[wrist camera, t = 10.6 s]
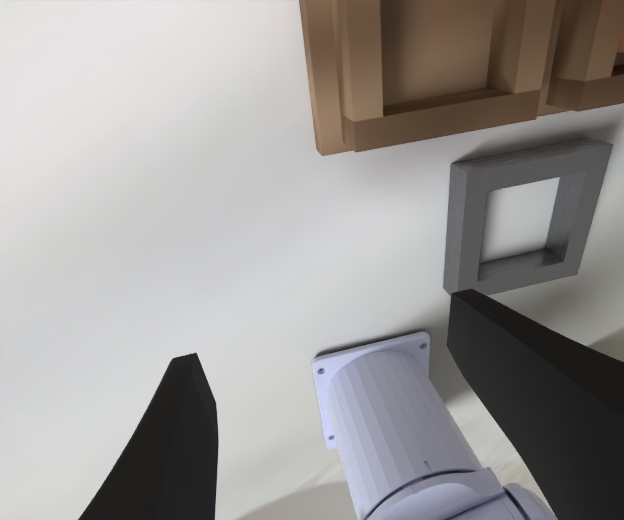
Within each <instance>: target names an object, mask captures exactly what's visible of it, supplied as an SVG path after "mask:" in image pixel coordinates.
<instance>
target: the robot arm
mask: <svg viewBox="0 0 624 520" xmlns="http://www.w3.org/2000/svg"><path fill="white" fill-rule="evenodd" d="M423 343H424V344H423ZM421 344H423V345H421ZM447 347H448V349H449V351H450V352H451V354H452V356H453V358H454V360H455V362H456V364H457V366H458V367H459V369H460V371H461V373H462V374H463V376H464V378H465V379H466V381H467V382H468V384H469V385H470V386H471V388H472V389H473V391H474V392H475V393H476V395H477V396H478V398H479V399H480V400H481V402H482V403H483V405H484V406H485V407H486V409H487V410H488V411H489V413H490V414H491V416H492V417H493V418H494V420H495V421H496V422H497V424H498V425H499V427H500V428H501V429H502V431H503V432H504V433H505V435H506V436H507V438H508V439H509V440H510V442H511V443H512V444H513V446H514V447H515V449H516V450H517V452H518V453H519V455H520V456H521V458H522V459H523V461H524V462H525V464H526V466H527V467H528V469H529V471H530V472H531V474H532V476H533V478H534V479H535V481H536V483H537V484H538V486H539V487H540V489H541V491H542V493H543V494H544V496H545V498H546V500H547V501H548V503H549V505H550V507H551V508H552V510H553V512H554V514H555V515H554V514H553V513H552V512H551V510H550V509H549V508H548V507H547V505H546V504H545V503H544V502H543V501H542V500H541V499H540V498H539V497H538V496H537V495H536V494H535V493H534V492H532V491H530V490H527V489H525V488H523V487H521V486H520V485H519V484H517V483H509V484H507V485H505V486H503V487H502V486H501V484H500V483H499V481H498V480H497V478H496V476H495V475H494V473H493V471H492V470H491V468H489V467H487V468H483V467H482V465H481V463H480V462H479V460H478V458H477V457H476V455H475V453H474V452H473V450H472V449H471V447H470V445H469V444H468V442H467V440H466V439H465V437H464V435H463V434H462V432H461V430H460V429H459V427H458V425H457V424H456V422H455V420H454V419H453V417H452V416H451V414H450V412H449V411H448V409H447V407H446V406H445V404H444V402H443V401H442V399H441V397H440V396H439V394H438V392H437V391H436V389H435V387H434V386H433V384H432V383H431V381H430V379H429V358H430V336H429V334H428V333H427V332H418V333H414V334H410V335H405V336H401V337H397V338H393V339H389V340H385V341H380V342H376V343H372V344H368V345H364V346H360V347H355V348H351V349H347V350H343V351H339V352H335V353H330V354H326V355H322V356H318V357H316V358H314V359H313V361H312V368H313V373H314V379H315V385H316V391H317V396H318V402H319V408H320V414H321V420H322V425H323V431H324V437H325V443H326V447H327V448H328V449H330V450H333V449H337V448H338V451H339V454H340V458H341V461H342V465H343V468H344V472H345V475H346V479H347V483H348V486H349V490H350V493H351V497H352V500H353V504H354V507H355V511H356V514H357V518H358V520H624V362H621V361H619V360H616V359H614V358H611V357H609V356H607V355H604V354H602V353H600V352H597V351H595V350H593V349H591V348H589V347H586V346H584V345H582V344H580V343H578V342H575V341H573V340H571V339H569V338H567V337H565V336H563V335H561V334H559V333H557V332H555V331H552V330H550V329H549V328H547V327H545V326H543V325H541V324H539V323H537V322H535V321H533V320H531V319H529V318H527V317H525V316H523V315H521V314H520V313H518V312H516V311H514V310H512V309H510V308H508V307H506V306H505V305H503V304H501V303H499V302H497V301H495V300H493V299H491V298H490V297H488V296H486V295H484V294H482V293H480V292H478V291H476V290H474V289H472V288H471V289H467V290H462V291H458V292H454V293H451V304H450V316H449V327H448V338H447ZM321 368H323V369H321ZM319 369H321V370H319ZM217 463H218V423H217V409H216V402H215V399H214V397H213V394H212V391H211V389H210V386H209V384H208V381H207V379H206V376H205V373H204V371H203V368H202V366H201V363H200V361H199V358H198V355H197V353H193V354H189V355H185V356H180V357H176V358H173V359H172V361H171V362H170V364H169V366H168V368H167V370H166V372H165V374H164V376H163V378H162V380H161V382H160V384H159V386H158V388H157V390H156V392H155V394H154V396H153V398H152V400H151V402H150V404H149V406H148V408H147V410H146V412H145V413H144V415H143V417H142V419H141V421H140V423H139V424H138V426H137V428H136V430H135V432H134V433H133V435H132V437H131V439H130V440H129V442H128V444H127V445H126V447H125V449H124V450H123V452H122V454H121V455H120V457H119V459H118V460H117V462H116V464H115V465H114V467H113V469H112V470H111V472H110V473H109V475H108V477H107V478H106V480H105V481H104V483H103V484H102V486H101V487H100V489H99V490H98V492H97V493H96V495H95V496H94V498H93V499H92V501H91V502H90V504H89V505H88V506H87V508H86V509H85V511H84V512H83V514H82V515H81V516H80V518H79V519H78V520H215V503H216V483H217ZM555 516H556V517H557V518H556V517H555Z"/></svg>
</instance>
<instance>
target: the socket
mask: <svg viewBox="0 0 624 520" xmlns="http://www.w3.org/2000/svg"><path fill="white" fill-rule="evenodd" d="M612 147H613V144H609V143H606V142H602V141H599V140H595V139H591V138H583V139H578V140H573V141H568V142H562V143H557V144H552V145H547V146H542V147H536V148H531V149H526V150H521V151H516V152H510V153H505V154H500V155H495V156H490V157H484V158H479V159H474V160H469V161H464V162H458V163H453V164H451V172H450V188H449V204H448V220H447V236H446V252H445V268H444V284H443V288H444V289H445V290H446V292H447V293H448V294H449V295H450V296H451V293H454V292H458V291H462V290H467V289H471V288H472V289H474V290H476V291H478V292H480V293H482V294H484V295H486V296H487V295H491V294H495V293H500V292H504V291H508V290H512V289H517V288H521V287H525V286H530V285H534V284H538V283H542V282H547V281H551V280H555V279H559V278H564V277H568V276H572V275H577V274H578V270H579V266H580V263H581V259H582V255H583V252H584V248H585V245H586V241H587V237H588V234H589V230H590V226H591V223H592V219H593V215H594V212H595V208H596V205H597V201H598V197H599V194H600V190H601V186H602V183H603V179H604V176H605V172H606V168H607V165H608V161H609V157H610V154H611V150H612ZM557 177H560V182H559V186H558V191H557V196H556V200H555V205H554V210H553V214H552V219H551V223H550V228H549V233H548V237H547V242H546V247H545V250H540V251H536V252H531V253H527V254H522V255H518V256H513V257H509V258H504V259H500V260H496V261H491V262H487V263H482V264H479V259H480V251H481V242H482V234H483V225H484V217H485V208H486V199H487V192H488V191H492V190H497V189H502V188H507V187H512V186H517V185H522V184H527V183H532V182H537V181H542V180H547V179H552V178H557Z"/></svg>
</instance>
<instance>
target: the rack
mask: <svg viewBox="0 0 624 520" xmlns="http://www.w3.org/2000/svg"><path fill="white" fill-rule="evenodd" d="M299 3H300V12H301V20H302V29H303V37H304V46H305V54H306V63H307V71H308V80H309V88H310V97H311V105H312V114H313V122H314V131H315V139H316V148H317V150H318V152H319V153H320V154H321V155H322V156H325V155H331V154H336V153H342V152H347V151H352V150H354V151H355V152H361V151H366V150H372V149H377V148H382V147H388V146H393V145H399V144H404V143H410V142H415V141H420V140H426V139H431V138H437V137H442V136H448V135H453V134H458V133H464V132H469V131H475V130H480V129H486V128H491V127H497V126H502V125H507V124H513V123H518V122H524V121H529V120H535V119H536V117H538V116H543V115H549V114H554V113H560V112H565V111H571V110H574V111H583V110H589V109H594V108H600V107H605V106H611V105H616V104H622V103H624V52H617V49H618V45H619V41H620V37H621V33H622V29H623V25H624V0H299Z"/></svg>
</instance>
